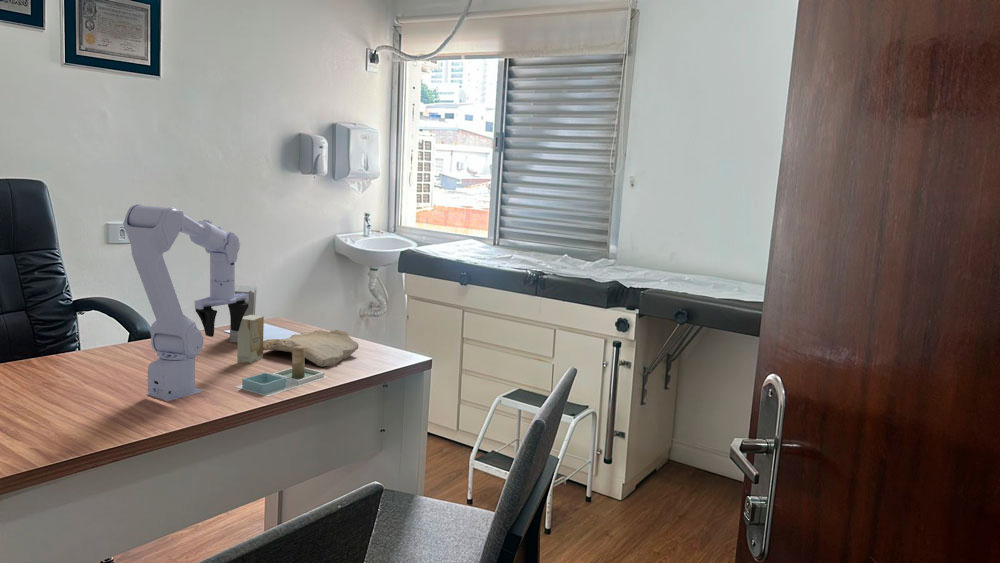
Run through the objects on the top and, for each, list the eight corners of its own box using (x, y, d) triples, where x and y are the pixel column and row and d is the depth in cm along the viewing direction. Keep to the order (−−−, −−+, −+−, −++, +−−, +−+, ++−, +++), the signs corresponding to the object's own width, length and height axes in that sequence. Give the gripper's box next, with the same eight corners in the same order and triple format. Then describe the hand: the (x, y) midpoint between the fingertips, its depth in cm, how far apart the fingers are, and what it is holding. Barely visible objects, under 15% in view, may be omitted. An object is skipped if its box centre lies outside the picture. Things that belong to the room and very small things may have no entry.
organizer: (267, 399, 163) (267, 392, 163) (234, 389, 168) (234, 382, 168) (328, 378, 180) (328, 372, 180) (296, 370, 185) (297, 364, 185)
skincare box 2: (251, 365, 187) (251, 320, 185) (236, 363, 188) (236, 318, 186) (264, 359, 194) (264, 315, 192) (249, 357, 194) (249, 313, 192)
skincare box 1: (232, 336, 215) (232, 284, 213) (257, 336, 217) (257, 285, 214) (228, 343, 207) (228, 290, 205) (254, 343, 209) (254, 290, 206)
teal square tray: (263, 394, 164) (263, 385, 164) (242, 388, 168) (242, 379, 167) (286, 386, 170) (286, 378, 170) (265, 381, 174) (265, 372, 173)
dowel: (298, 379, 176) (298, 349, 175) (289, 376, 178) (289, 347, 176) (307, 376, 179) (307, 347, 178) (298, 373, 180) (298, 345, 179)
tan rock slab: (297, 344, 214) (249, 352, 196) (300, 320, 214) (252, 326, 195) (364, 361, 205) (320, 371, 186) (367, 335, 204) (323, 343, 186)
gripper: (208, 285, 167) (208, 341, 170) (257, 278, 180) (256, 330, 182) (188, 281, 171) (189, 336, 173) (238, 275, 183) (237, 326, 185)
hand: (222, 333), depth 178 cm, fingers open, 7 cm apart
